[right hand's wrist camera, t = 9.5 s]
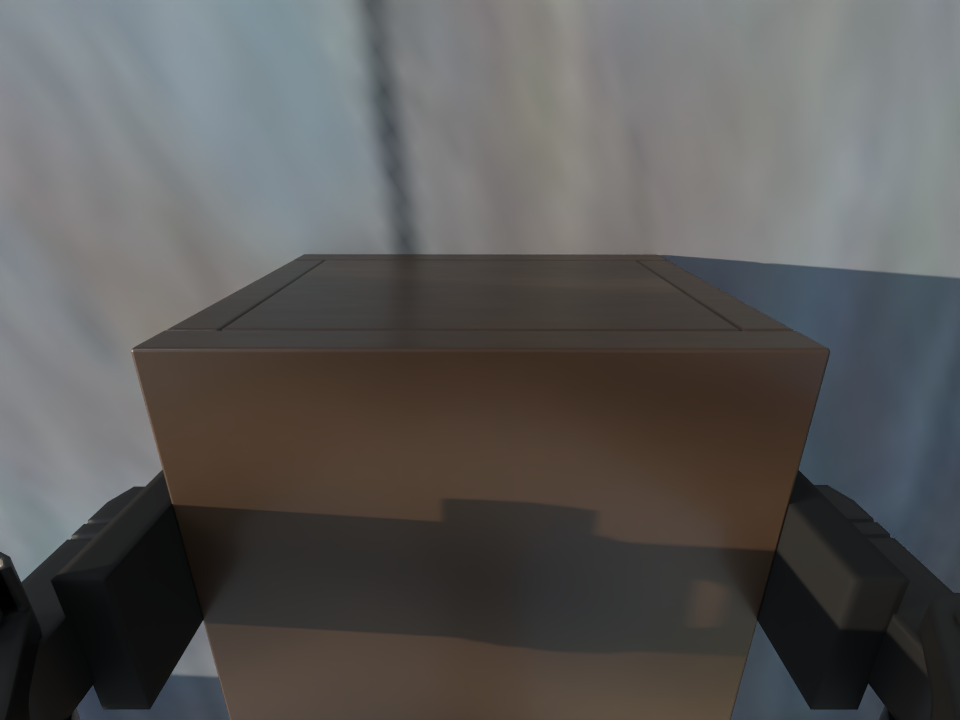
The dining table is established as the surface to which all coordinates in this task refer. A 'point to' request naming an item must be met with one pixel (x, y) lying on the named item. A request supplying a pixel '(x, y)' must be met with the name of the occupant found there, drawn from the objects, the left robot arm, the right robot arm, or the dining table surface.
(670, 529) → the cabinet
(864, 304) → the dining table surface
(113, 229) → the dining table surface
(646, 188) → the dining table surface
